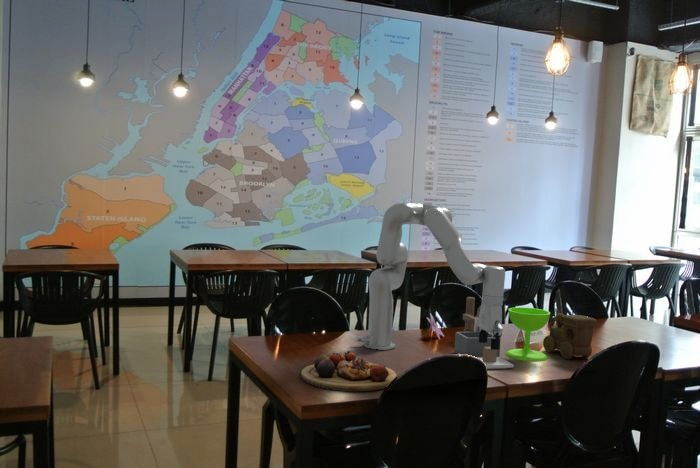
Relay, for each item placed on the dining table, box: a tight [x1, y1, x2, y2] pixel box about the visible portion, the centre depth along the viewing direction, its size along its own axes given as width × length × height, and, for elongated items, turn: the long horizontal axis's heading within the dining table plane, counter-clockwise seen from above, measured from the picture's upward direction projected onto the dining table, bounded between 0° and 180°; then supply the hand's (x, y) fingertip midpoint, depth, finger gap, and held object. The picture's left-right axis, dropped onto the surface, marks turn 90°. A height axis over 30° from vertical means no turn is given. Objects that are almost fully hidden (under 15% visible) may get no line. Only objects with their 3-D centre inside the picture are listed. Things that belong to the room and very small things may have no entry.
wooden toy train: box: [542, 312, 598, 360], centre depth 254 cm, size 20×11×17 cm, turn 21°
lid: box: [477, 347, 515, 370], centre depth 233 cm, size 14×11×7 cm
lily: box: [423, 312, 445, 340], centre depth 277 cm, size 12×12×10 cm
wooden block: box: [462, 296, 480, 332], centre depth 279 cm, size 4×11×18 cm, turn 110°
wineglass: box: [505, 306, 551, 363], centre depth 249 cm, size 16×16×18 cm
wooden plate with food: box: [300, 350, 398, 392], centre depth 209 cm, size 32×32×8 cm
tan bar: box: [462, 313, 479, 327], centre depth 264 cm, size 2×16×2 cm, turn 14°
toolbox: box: [454, 316, 501, 357], centre depth 249 cm, size 14×14×13 cm
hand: (488, 345), depth 233 cm, fingers open, 9 cm apart
